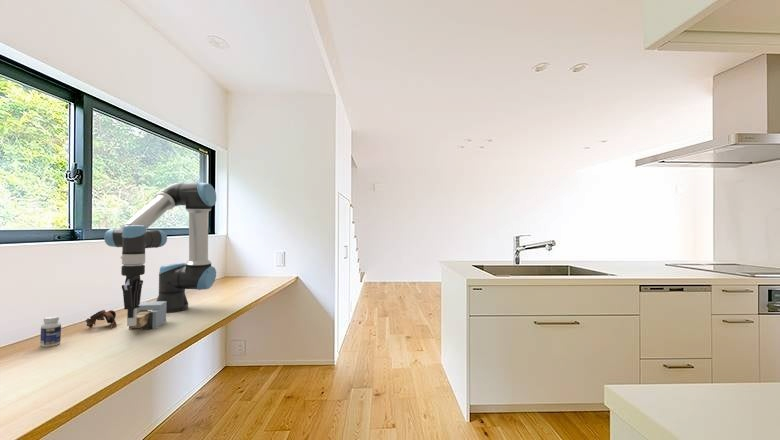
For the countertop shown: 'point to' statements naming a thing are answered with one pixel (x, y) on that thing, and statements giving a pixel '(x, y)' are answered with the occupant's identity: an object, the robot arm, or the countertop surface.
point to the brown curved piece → (102, 318)
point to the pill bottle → (50, 332)
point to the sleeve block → (153, 314)
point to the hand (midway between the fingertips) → (131, 325)
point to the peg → (141, 319)
